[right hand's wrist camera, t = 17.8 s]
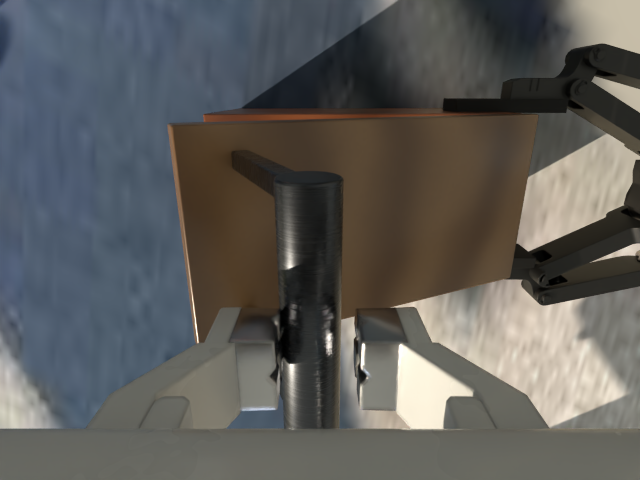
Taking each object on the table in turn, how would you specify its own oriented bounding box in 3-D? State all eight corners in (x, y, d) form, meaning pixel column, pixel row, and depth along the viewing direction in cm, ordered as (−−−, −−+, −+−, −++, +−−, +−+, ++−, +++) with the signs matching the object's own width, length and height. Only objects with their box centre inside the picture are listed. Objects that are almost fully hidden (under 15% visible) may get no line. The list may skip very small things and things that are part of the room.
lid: (194, 340, 18) (242, 512, 10) (167, 123, 15) (207, 149, 7) (493, 270, 25) (648, 343, 17) (519, 113, 22) (721, 122, 14)
